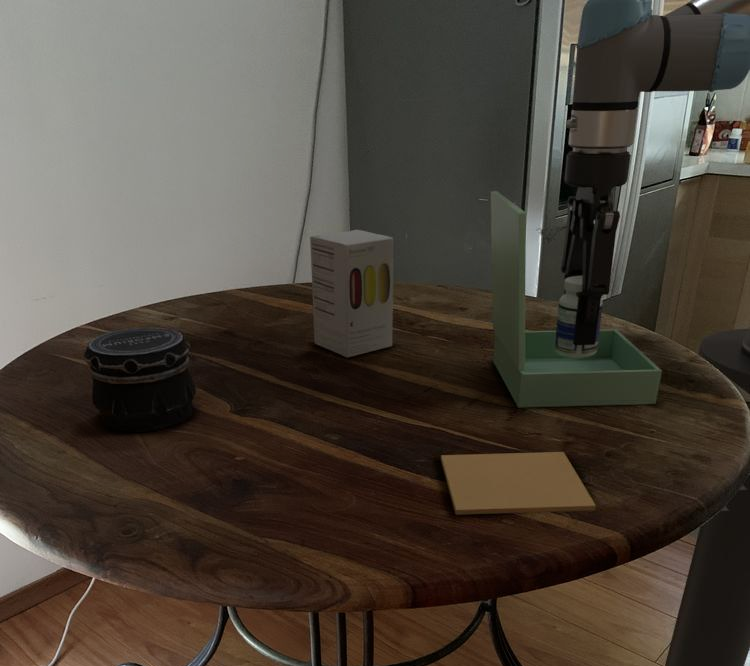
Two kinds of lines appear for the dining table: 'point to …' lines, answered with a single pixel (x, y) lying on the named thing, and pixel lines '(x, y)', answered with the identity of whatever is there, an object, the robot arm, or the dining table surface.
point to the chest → (579, 373)
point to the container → (141, 378)
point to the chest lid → (509, 276)
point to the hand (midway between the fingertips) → (577, 336)
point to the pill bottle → (572, 322)
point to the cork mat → (514, 483)
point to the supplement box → (352, 291)
